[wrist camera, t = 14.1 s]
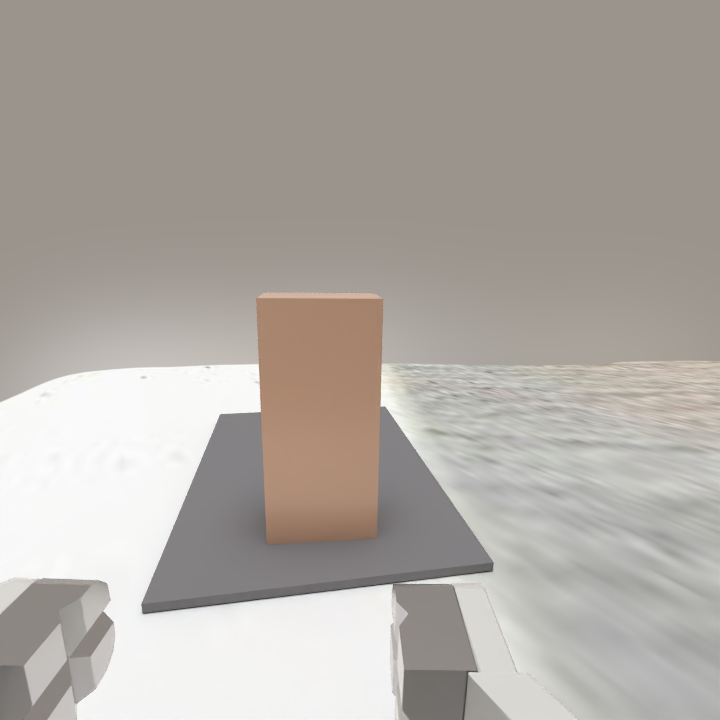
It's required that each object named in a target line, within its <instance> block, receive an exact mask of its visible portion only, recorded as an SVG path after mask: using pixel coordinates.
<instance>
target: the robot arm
mask: <svg viewBox="0 0 720 720" xmlns="http://www.w3.org/2000/svg"><path fill="white" fill-rule="evenodd" d="M109 602H110V595H109V590H108V585H107V584H106V583H104V582H102V581H99V580H73V579H46V578H43V579H29V578H13V579H10V580H7V581H5V582H2V583H1V584H0V720H77V708H76V704H77V703H78V702H80V701H81V700H82V699H83V698H85V697H86V696H87V695H89V694H90V693H91V692H93V691H94V690H95V689H96V688H97V686H98V684H99V683H100V681H101V679H102V678H103V676H104V674H105V672H106V671H107V668H108V665H109V662H110V659H111V656H112V653H113V650H114V642H115V629H114V622H113V621H112V620H111V619H110V618H109V617H108V616H107V615H106V614H105V613H104V612H103V610H104V609H105V608H106V606H107V605H108V603H109ZM392 614H393V624H392V625H391V640H390V661H391V679H392V693H393V694H394V695H395V696H396V701H395V720H578V719H577V718H576V717H575V716H574V715H573V714H572V713H571V712H570V711H568V710H567V709H566V708H565V707H564V706H563V705H562V704H561V703H560V702H559V701H558V700H556V699H555V698H554V697H553V696H552V695H551V694H550V693H549V692H548V691H547V690H546V689H544V688H543V687H542V686H541V685H540V684H539V683H538V682H537V681H536V680H535V679H533V678H532V677H531V676H530V675H529V674H528V673H518V672H517V670H516V667H515V665H514V662H513V660H512V657H511V655H510V652H509V649H508V647H507V644H506V642H505V639H504V637H503V634H502V632H501V629H500V627H499V624H498V621H497V619H496V616H495V614H494V611H493V609H492V606H491V604H490V601H489V599H488V596H487V593H486V591H485V588H484V587H483V586H482V585H481V584H480V583H461V584H451V585H450V584H393V589H392Z"/></svg>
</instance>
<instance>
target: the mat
mask: <svg viewBox="0 0 720 720" xmlns="http://www.w3.org/2000/svg"><path fill="white" fill-rule="evenodd" d="M493 563H494V562H493V561H492V559H491V558H490V557H489V555H488V554H487V552H486V551H485V549H484V548H483V547H482V545H481V544H480V542H479V541H478V539H477V538H476V536H475V535H474V534H473V532H472V531H471V529H470V528H469V526H468V525H467V524H466V522H465V521H464V519H463V518H462V516H461V515H460V513H459V512H458V511H457V509H456V508H455V506H454V505H453V503H452V502H451V501H450V499H449V498H448V496H447V495H446V493H445V492H444V491H443V489H442V488H441V486H440V485H439V483H438V482H437V480H436V479H435V478H434V476H433V475H432V473H431V472H430V470H429V469H428V468H427V466H426V465H425V463H424V462H423V460H422V459H421V457H420V456H419V455H418V453H417V452H416V450H415V449H414V447H413V446H412V445H411V443H410V442H409V440H408V439H407V437H406V436H405V434H404V433H403V432H402V430H401V429H400V427H399V426H398V424H397V423H396V422H395V420H394V419H393V417H392V416H391V414H390V413H389V411H388V410H387V409H386V407H380V439H379V477H378V515H377V539H361V540H342V541H324V542H306V543H288V544H270V545H267V540H266V517H265V493H264V470H263V446H262V422H261V412H258V413H237V414H220V416H219V419H218V421H217V424H216V426H215V428H214V431H213V433H212V436H211V438H210V440H209V443H208V445H207V448H206V450H205V452H204V455H203V457H202V460H201V462H200V464H199V467H198V469H197V472H196V474H195V477H194V479H193V481H192V484H191V486H190V489H189V491H188V493H187V496H186V498H185V501H184V503H183V505H182V508H181V510H180V513H179V515H178V517H177V520H176V522H175V525H174V527H173V529H172V532H171V534H170V537H169V539H168V542H167V544H166V546H165V549H164V551H163V554H162V556H161V558H160V561H159V563H158V566H157V568H156V570H155V573H154V575H153V578H152V580H151V582H150V585H149V587H148V590H147V592H146V594H145V597H144V599H143V602H142V612H143V613H148V612H156V611H164V610H172V609H181V608H189V607H197V606H205V605H213V604H222V603H230V602H238V601H246V600H254V599H263V598H271V597H279V596H287V595H295V594H304V593H312V592H320V591H328V590H336V589H345V588H353V587H361V586H369V585H377V584H386V583H394V582H402V581H410V580H418V579H427V578H435V577H443V576H451V575H459V574H468V573H476V572H484V571H492V570H493Z"/></svg>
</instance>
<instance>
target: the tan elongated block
mask: <svg viewBox="0 0 720 720" xmlns="http://www.w3.org/2000/svg"><path fill="white" fill-rule="evenodd" d="M256 303H257V327H258V349H259V350H258V351H259V375H260V399H261V422H262V446H263V470H264V493H265V517H266V540H267V545H270V544H288V543H306V542H324V541H342V540H361V539H377V515H378V477H379V439H380V401H381V362H382V323H383V298H381V297H379V296H377V295H375V294H372V293H264V294H262V295H260V296H259V297H257V298H256Z"/></svg>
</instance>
